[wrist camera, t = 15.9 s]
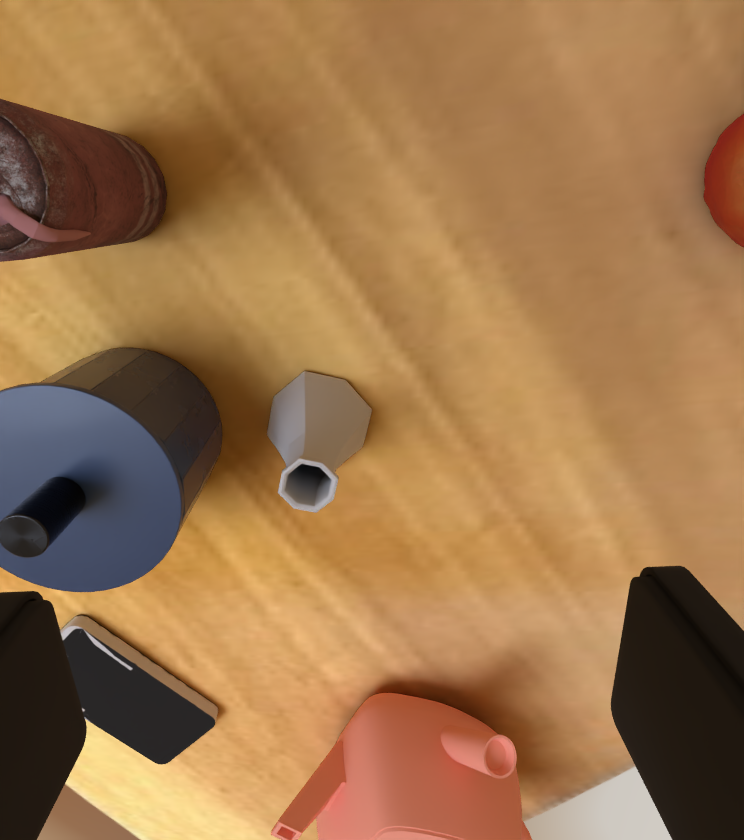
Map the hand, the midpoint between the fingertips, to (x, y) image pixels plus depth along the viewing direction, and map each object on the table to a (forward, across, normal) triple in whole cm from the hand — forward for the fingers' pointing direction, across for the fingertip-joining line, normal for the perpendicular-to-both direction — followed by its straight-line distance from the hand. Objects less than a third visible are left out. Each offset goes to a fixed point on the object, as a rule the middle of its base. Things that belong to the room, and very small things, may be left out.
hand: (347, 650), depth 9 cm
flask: (+30, +3, +7) cm, 31 cm away
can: (+30, +14, -8) cm, 34 cm away
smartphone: (+30, +21, +31) cm, 48 cm away
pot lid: (+21, +16, +8) cm, 27 cm away
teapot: (+30, -4, +39) cm, 50 cm away
